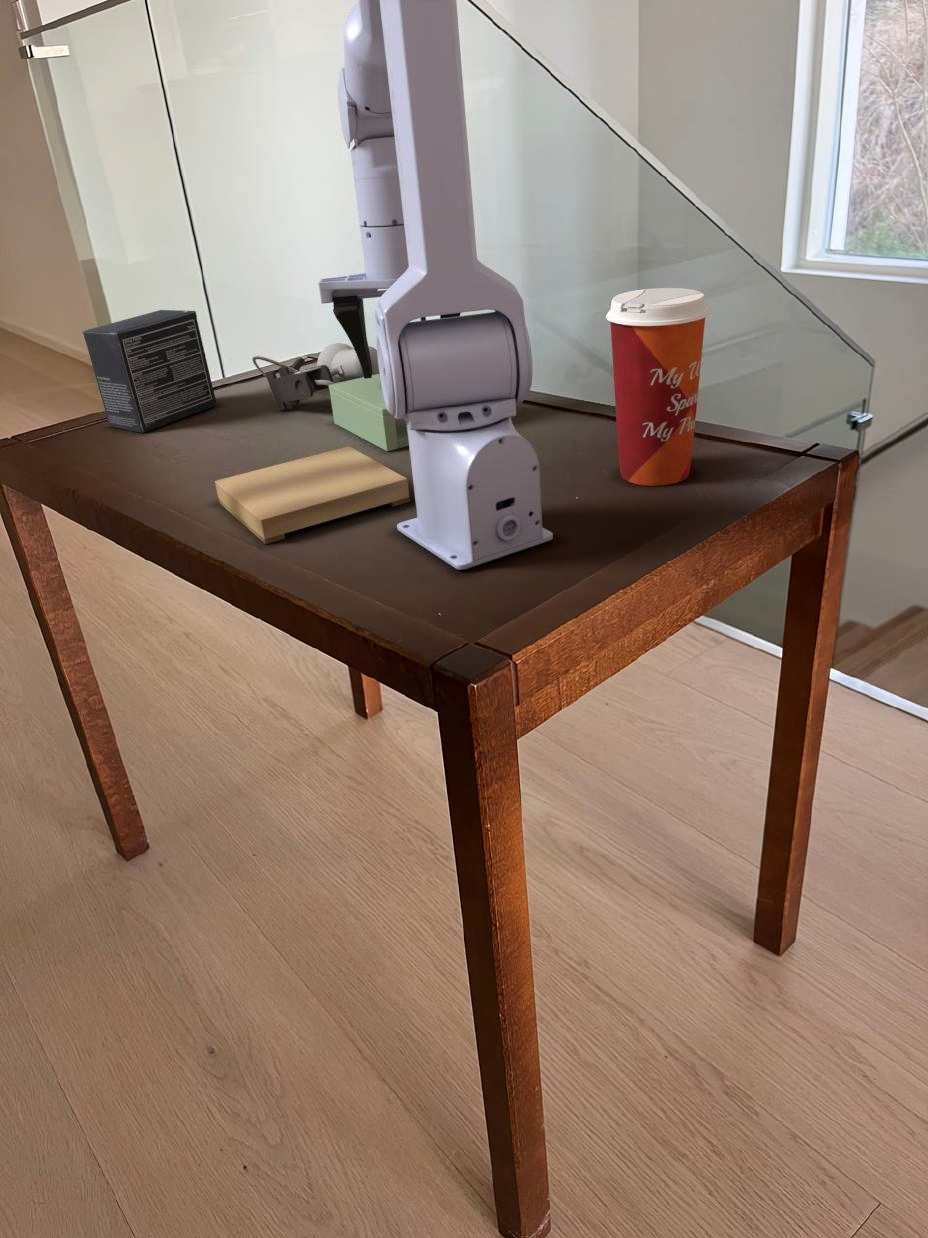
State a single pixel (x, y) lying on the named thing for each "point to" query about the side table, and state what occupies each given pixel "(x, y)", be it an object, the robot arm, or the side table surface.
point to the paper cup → (656, 380)
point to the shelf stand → (367, 413)
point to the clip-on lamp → (315, 373)
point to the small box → (151, 369)
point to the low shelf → (309, 492)
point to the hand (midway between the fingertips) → (407, 372)
